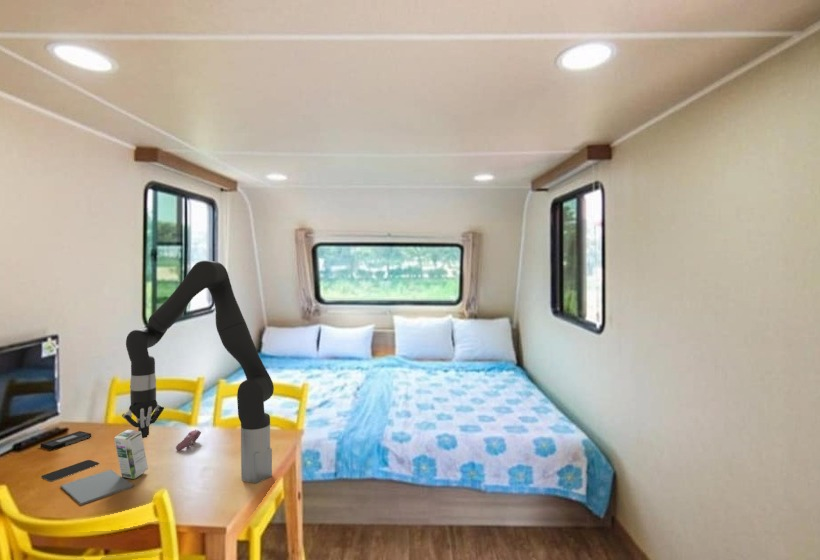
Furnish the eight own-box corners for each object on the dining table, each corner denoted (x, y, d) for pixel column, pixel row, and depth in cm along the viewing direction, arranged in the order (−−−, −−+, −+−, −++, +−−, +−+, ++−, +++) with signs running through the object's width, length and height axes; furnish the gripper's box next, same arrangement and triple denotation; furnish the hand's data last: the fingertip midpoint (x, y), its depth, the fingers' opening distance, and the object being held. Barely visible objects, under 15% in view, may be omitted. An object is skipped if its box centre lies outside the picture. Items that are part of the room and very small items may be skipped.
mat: (133, 486, 143) (133, 484, 143) (80, 505, 132) (80, 503, 132) (110, 471, 154) (110, 469, 154) (60, 487, 143) (60, 485, 143)
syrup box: (121, 477, 150) (112, 437, 147) (136, 466, 155) (128, 428, 152) (134, 479, 148) (126, 439, 145) (149, 468, 153) (141, 430, 150)
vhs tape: (91, 438, 185) (91, 433, 185) (52, 451, 172) (52, 446, 172) (79, 435, 188) (79, 431, 188) (40, 448, 174) (40, 443, 174)
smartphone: (100, 463, 160) (51, 480, 146) (100, 465, 160) (51, 482, 146) (88, 459, 163) (39, 476, 150) (88, 461, 163) (39, 478, 150)
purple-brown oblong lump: (184, 455, 171) (192, 439, 171) (174, 449, 171) (182, 433, 171) (197, 445, 181) (205, 429, 181) (187, 439, 181) (194, 424, 181)
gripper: (126, 393, 146) (126, 446, 146) (168, 384, 156) (169, 434, 157) (117, 389, 150) (117, 440, 151) (158, 381, 161) (159, 429, 161)
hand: (143, 437), depth 154 cm, fingers closed
